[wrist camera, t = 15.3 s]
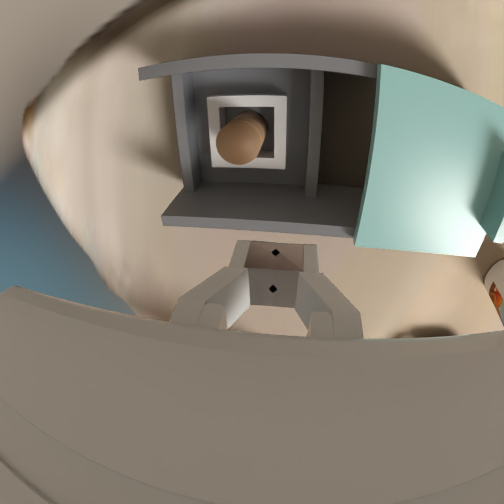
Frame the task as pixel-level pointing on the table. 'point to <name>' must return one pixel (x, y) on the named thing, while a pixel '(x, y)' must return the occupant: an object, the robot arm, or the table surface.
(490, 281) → the milk bottle
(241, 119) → the tan rounded cylinder
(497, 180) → the lid
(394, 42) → the table surface
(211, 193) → the housing
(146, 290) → the table surface
